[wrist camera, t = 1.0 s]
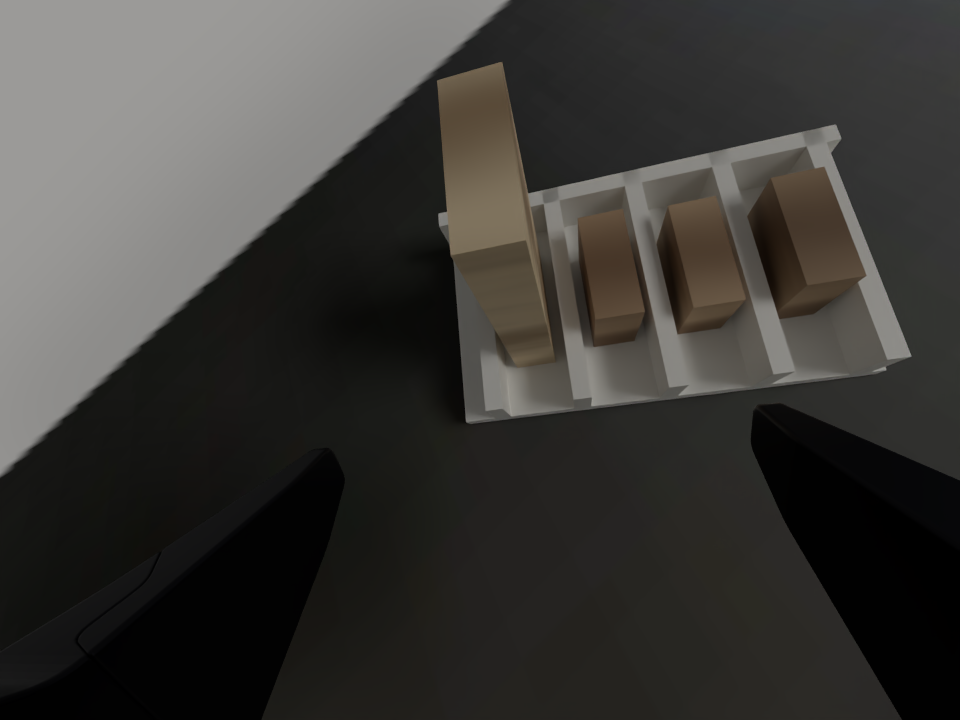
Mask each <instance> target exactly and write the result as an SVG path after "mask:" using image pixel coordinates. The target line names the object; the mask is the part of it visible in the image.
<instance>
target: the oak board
mask: <svg viewBox="0 0 960 720" xmlns="http://www.w3.org/2000/svg"><path fill="white" fill-rule="evenodd" d="M437 83H438V96H439V109H440V123H441V136H442V149H443V162H444V175H445V188H446V202H447V215H448V228H449V241H450V254H451V257H452V259H453V260H454V262H455V264H456V265H457V267H458V269H459V270H460V272H461V274H462V275H463V277H464V279H465V281H466V282H467V284H468V286H469V287H470V289H471V291H472V292H473V294H474V296H475V297H476V299H477V301H478V302H479V304H480V306H481V307H482V309H483V311H484V312H485V314H486V316H487V317H488V319H489V321H490V323H491V324H492V326H493V328H494V329H495V331H496V333H497V334H498V336H499V338H500V339H501V341H502V343H503V344H504V346H505V348H506V349H507V351H508V353H509V354H510V356H511V358H512V359H513V361H514V363H515V364H516V366H517V368H520V367H527V366H534V365H540V364H547V363H554V362H556V361H555V354H554V347H553V340H552V333H551V326H550V319H549V312H548V305H547V298H546V291H545V284H544V277H543V270H542V264H541V257H540V252H539V247H538V242H537V237H536V232H535V227H534V222H533V217H532V212H531V207H530V201H529V196H528V191H527V186H526V181H525V176H524V171H523V166H522V161H521V156H520V151H519V146H518V140H517V135H516V130H515V125H514V120H513V115H512V110H511V105H510V100H509V95H508V90H507V85H506V79H505V74H504V69H503V64H502V62H500V63H496V64H493V65H489V66H486V67H482V68H479V69H475V70H472V71H468V72H465V73H462V74H458V75H455V76H451V77H448V78H444V79H441V80H437Z"/></svg>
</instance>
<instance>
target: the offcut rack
mask: <svg viewBox="0 0 960 720" xmlns="http://www.w3.org/2000/svg"><path fill="white" fill-rule="evenodd" d="M840 140H841V136H840V134H839V132H838V129H837V127H836V125H831V126H827V127H822V128H818V129H814V130H809V131H805V132H800V133H796V134H791V135H787V136H782V137H778V138H774V139H769V140H765V141H760V142H756V143H751V144H747V145H742V146H738V147H734V148H729V149H725V150H720V151H716V152H711V153H707V154H702V155H698V156H694V157H689V158H685V159H680V160H676V161H671V162H667V163H662V164H658V165H653V166H649V167H645V168H640V169H636V170H631V171H627V172H622V173H618V174H613V175H609V176H605V177H600V178H596V179H591V180H587V181H582V182H578V183H573V184H569V185H565V186H560V187H556V188H551V189H547V190H542V191H538V192H533V193H529V194H528V196H529V201H530V207H531V212H532V217H533V222H534V227H535V232H536V237H537V242H538V247H539V252H540V257H541V264H542V270H543V277H544V284H545V291H546V298H547V305H548V312H549V319H550V326H551V333H552V340H553V347H554V354H555V361H556V362H554V363H547V364H540V365H534V366H527V367H520V368H517V366H516V364H515V363H514V361H513V359H512V358H511V356H510V354H509V353H508V351H507V349H506V348H505V346H504V344H503V343H502V341H501V339H500V338H499V336H498V334H497V333H496V331H495V329H494V328H493V326H492V324H491V323H490V321H489V319H488V317H487V316H486V314H485V312H484V311H483V309H482V307H481V306H480V304H479V302H478V301H477V299H476V297H475V296H474V294H473V292H472V291H471V289H470V287H469V286H468V284H467V282H466V281H465V279H464V277H463V275H462V274H461V272H460V270H459V269H458V267H457V265H456V264H455V262H454V273H455V286H456V299H457V312H458V324H459V337H460V350H461V363H462V376H463V389H464V402H465V414H466V422H467V423H469V424H473V423H481V422H490V421H498V420H506V419H514V418H522V417H530V416H539V415H547V414H555V413H563V412H571V411H579V410H588V409H596V408H604V407H612V406H620V405H628V404H637V403H645V402H653V401H661V400H669V399H677V398H686V397H694V396H702V395H710V394H718V393H726V392H735V391H743V390H751V389H759V388H767V387H775V386H784V385H792V384H800V383H808V382H816V381H824V380H833V379H841V378H849V377H857V376H865V375H873V374H877V373H880V372H883V371H885V370H886V367H885V366H888V365H891V364H893V363H896V362H899V361H901V360H904V359H907V358H909V357H912V356H911V354H910V351H909V349H908V346H907V344H906V341H905V339H904V336H903V334H902V331H901V329H900V326H899V324H898V321H897V319H896V316H895V314H894V311H893V309H892V306H891V304H890V301H889V299H888V296H887V293H886V291H885V288H884V286H883V283H882V281H881V278H880V276H879V273H878V271H877V268H876V266H875V263H874V261H873V258H872V256H871V253H870V251H869V248H868V246H867V243H866V241H865V238H864V236H863V233H862V230H861V228H860V225H859V223H858V220H857V218H856V215H855V213H854V210H853V208H852V205H851V203H850V200H849V198H848V195H847V193H846V190H845V188H844V185H843V183H842V180H841V178H840V175H839V173H838V170H837V167H836V165H835V162H834V160H833V157H832V155H831V152H832V151H833V149H834V148H835V147H836V145H837V144H838V143H839V141H840ZM820 167H825V169H826V172H827V174H828V177H829V180H830V182H831V185H832V187H833V190H834V192H835V195H836V198H837V200H838V203H839V205H840V208H841V211H842V213H843V216H844V218H845V221H846V223H847V226H848V229H849V231H850V234H851V236H852V239H853V242H854V244H855V247H856V249H857V252H858V254H859V257H860V260H861V262H862V265H863V267H864V270H865V273H866V275H867V276H866V277H864V278H863V279H862V280H860V281H859V282H857V283H856V284H855V285H853V286H852V287H850V288H849V289H848V290H846V291H845V292H844V293H842V294H841V295H839V296H838V297H837V298H835V299H834V300H832V301H831V302H830V303H828V304H827V305H826V306H824V307H823V308H821V309H820V310H819V311H817V312H816V313H815V314H812V315H805V316H798V317H792V318H785V319H779V317H778V314H777V311H776V308H775V304H774V301H773V298H772V295H771V291H770V288H769V285H768V282H767V279H766V275H765V272H764V269H763V266H762V263H761V259H760V256H759V253H758V250H757V246H756V243H755V240H754V237H753V234H752V230H751V227H750V224H749V221H748V218H747V216H748V214H749V212H750V211H751V209H752V207H753V206H754V204H755V203H756V201H757V199H758V198H759V196H760V195H761V193H762V191H763V190H764V188H765V186H766V185H767V183H768V182H769V180H770V178H772V177H777V176H782V175H787V174H791V173H796V172H801V171H806V170H810V169H815V168H820ZM712 196H716V198H717V201H718V205H719V208H720V211H721V215H722V218H723V222H724V225H725V229H726V232H727V235H728V239H729V242H730V246H731V249H732V253H733V256H734V259H735V263H736V266H737V270H738V273H739V277H740V280H741V283H742V287H743V290H744V294H745V297H746V300H745V301H744V302H743V304H742V305H741V306H740V307H739V308H738V309H737V310H736V311H735V312H734V314H733V315H732V316H731V317H730V318H729V319H728V320H727V321H726V323H725V324H724V325H723V326H722V327H721V328H718V329H711V330H705V331H698V332H691V333H685V334H678V335H677V330H676V326H675V322H674V318H673V313H672V309H671V305H670V301H669V296H668V292H667V288H666V283H665V279H664V275H663V271H662V266H661V262H660V258H659V254H658V249H657V245H656V243H657V240H658V237H659V233H660V230H661V227H662V224H663V220H664V217H665V214H666V210H667V207H668V206H669V205H673V204H678V203H683V202H688V201H693V200H698V199H703V198H707V197H712ZM619 209H623V211H624V216H625V221H626V225H627V230H628V235H629V239H630V244H631V249H632V253H633V258H634V262H635V267H636V272H637V276H638V281H639V286H640V290H641V295H642V300H643V304H644V309H645V313H644V316H643V319H642V321H641V324H640V327H639V330H638V333H637V335H636V338H635V341H631V342H625V343H618V344H611V345H605V346H598V347H594V346H593V340H592V335H591V329H590V323H589V317H588V311H587V306H586V300H585V294H584V288H583V282H582V277H581V271H580V265H579V254H578V218H581V217H585V216H590V215H595V214H600V213H605V212H609V211H614V210H619ZM438 215H439V227H440V229H441V231H442V232H443V234H444V236H445V238H446V239H447V241H448V243H449V245H450V241H449V228H448V215H447V212H444V213H440V214H438Z"/></svg>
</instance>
